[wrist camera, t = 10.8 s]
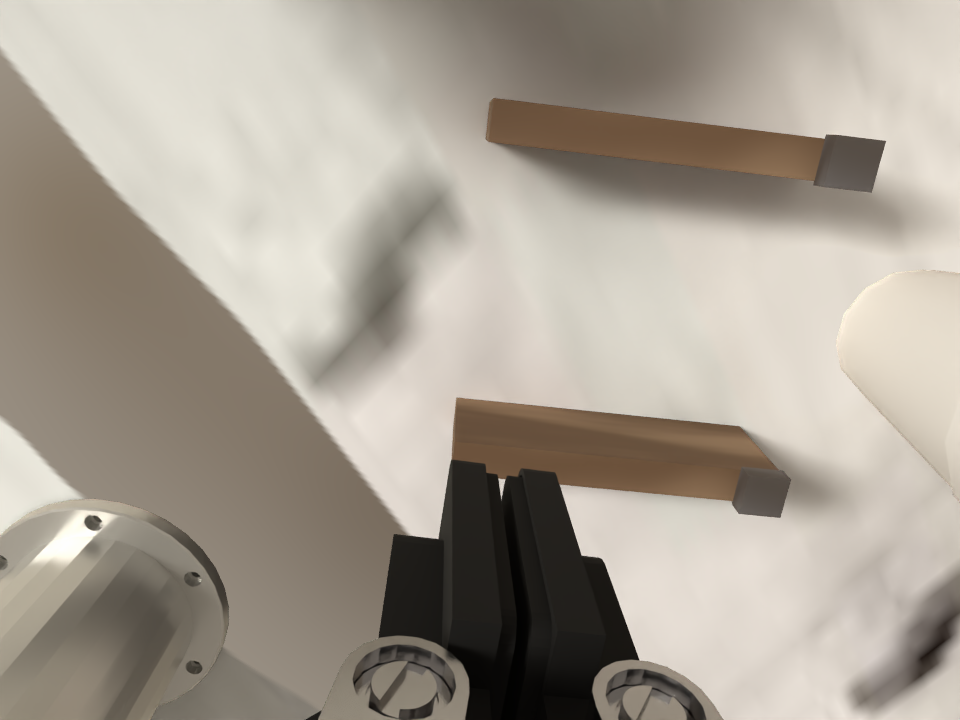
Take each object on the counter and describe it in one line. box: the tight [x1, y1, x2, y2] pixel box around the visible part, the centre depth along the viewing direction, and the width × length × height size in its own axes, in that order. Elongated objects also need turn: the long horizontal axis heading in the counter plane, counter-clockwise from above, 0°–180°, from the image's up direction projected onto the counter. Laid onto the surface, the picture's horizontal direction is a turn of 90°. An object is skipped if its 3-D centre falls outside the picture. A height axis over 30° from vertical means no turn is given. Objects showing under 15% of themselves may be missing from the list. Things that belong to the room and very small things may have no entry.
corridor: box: [452, 98, 886, 518], centre depth 30 cm, size 15×14×6 cm
